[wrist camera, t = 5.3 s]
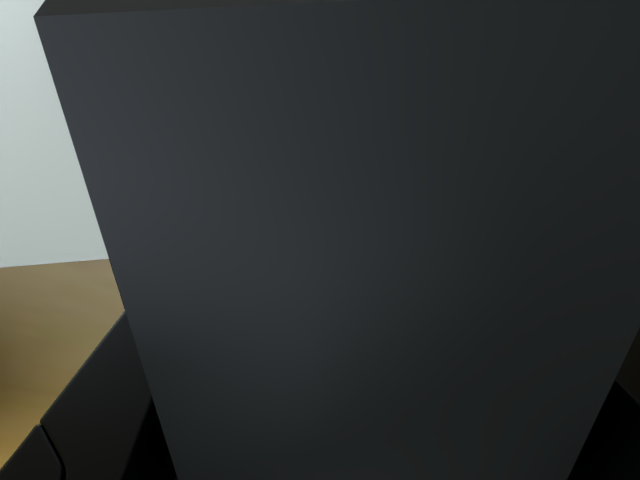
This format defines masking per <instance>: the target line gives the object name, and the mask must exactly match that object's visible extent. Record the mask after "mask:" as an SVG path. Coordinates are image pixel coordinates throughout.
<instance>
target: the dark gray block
mask: <svg viewBox="0 0 640 480" xmlns="http://www.w3.org/2000/svg"><path fill="white" fill-rule="evenodd" d="M33 18H34V21H35V24H36V27H37V31H38V34H39V37H40V40H41V43H42V46H43V50H44V53H45V56H46V59H47V62H48V66H49V69H50V72H51V75H52V78H53V82H54V85H55V88H56V91H57V94H58V98H59V101H60V104H61V107H62V110H63V114H64V117H65V120H66V123H67V126H68V130H69V133H70V136H71V139H72V142H73V146H74V149H75V152H76V155H77V158H78V161H79V165H80V168H81V171H82V174H83V177H84V181H85V184H86V187H87V190H88V193H89V197H90V200H91V203H92V206H93V209H94V213H95V216H96V219H97V222H98V225H99V229H100V232H101V235H102V238H103V241H104V245H105V248H106V251H107V254H108V257H109V261H110V264H111V267H112V270H113V273H114V276H115V280H116V283H117V286H118V289H119V292H120V296H121V299H122V302H123V305H124V308H125V312H126V315H127V318H128V321H129V324H130V328H131V331H132V334H133V337H134V340H135V344H136V347H137V350H138V353H139V356H140V360H141V363H142V366H143V369H144V372H145V375H146V379H147V382H148V385H149V388H150V391H151V395H152V398H153V401H154V404H155V407H156V411H157V414H158V417H159V420H160V423H161V427H162V430H163V433H164V436H165V439H166V443H167V446H168V449H169V452H170V455H171V459H172V462H173V465H174V468H175V471H176V475H177V478H178V480H567V479H568V476H569V474H570V472H571V470H572V468H573V466H574V464H575V462H576V460H577V458H578V456H579V453H580V451H581V449H582V447H583V445H584V443H585V441H586V439H587V437H588V435H589V432H590V430H591V428H592V426H593V424H594V422H595V420H596V418H597V416H598V414H599V412H600V409H601V407H602V405H603V403H604V401H605V399H606V397H607V395H608V393H609V391H610V389H611V386H612V384H613V382H614V380H615V378H616V376H617V374H618V372H619V370H620V368H621V365H622V363H623V361H624V359H625V357H626V355H627V353H628V351H629V349H630V347H631V345H632V342H633V340H634V338H635V336H636V334H637V332H638V330H639V328H640V0H45V1H44V2H43V4H42V5H41V7H40V8H39V9H38V11H37V12H36V13H35V15H34V16H33Z"/></svg>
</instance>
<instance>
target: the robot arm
mask: <svg viewBox="0 0 640 480" xmlns="http://www.w3.org/2000/svg"><path fill="white" fill-rule="evenodd" d="M40 423H41V425H42V426H41V425H40V424H37V425H36V426H35V427H34V428H33V429H32V431H31V432H30V433H29V434H28V436H27V437H26V438H25V440H24V441H23V442H22V443H21V445H20V446H19V447H18V449H17V450H16V451H15V452H14V453H13V455H12V456H11V457H10V458H9V460H8V461H7V462H6V463H5V464H4V466H3V467H2V468H1V469H0V480H178V478H177V475H176V471H175V468H174V465H173V462H172V459H171V455H170V452H169V449H168V446H167V443H166V439H165V436H164V433H163V430H162V427H161V423H160V420H159V417H158V414H157V411H156V407H155V404H154V401H153V398H152V395H151V391H150V388H149V385H148V382H147V379H146V375H145V372H144V369H143V366H142V363H141V360H140V356H139V353H138V350H137V347H136V344H135V340H134V337H133V334H132V331H131V328H130V324H129V321H128V318H127V315H126V312H125V311H124V312H123V314H122V315H121V316H120V318H119V319H118V320H117V321H116V323H115V324H114V325H113V327H112V328H111V329H110V330H109V332H108V333H107V334H106V336H105V337H104V338H103V339H102V341H101V342H100V343H99V345H98V346H97V347H96V348H95V350H94V351H93V352H92V354H91V355H90V356H89V358H88V359H87V360H86V361H85V363H84V364H83V365H82V367H81V368H80V369H79V370H78V372H77V373H76V374H75V376H74V377H73V378H72V379H71V381H70V382H69V383H68V385H67V386H66V387H65V388H64V390H63V391H62V392H61V394H60V395H59V396H58V397H57V399H56V400H55V401H54V403H53V404H52V405H51V406H50V408H49V409H48V410H47V412H46V413H45V414H44V416H43V417H42V418H41V420H40ZM567 480H640V328H639V330H638V332H637V334H636V336H635V338H634V340H633V342H632V345H631V347H630V349H629V351H628V353H627V355H626V357H625V359H624V361H623V363H622V365H621V368H620V370H619V372H618V374H617V376H616V378H615V380H614V382H613V384H612V386H611V389H610V391H609V393H608V395H607V397H606V399H605V401H604V403H603V405H602V407H601V409H600V412H599V414H598V416H597V418H596V420H595V422H594V424H593V426H592V428H591V430H590V432H589V435H588V437H587V439H586V441H585V443H584V445H583V447H582V449H581V451H580V453H579V456H578V458H577V460H576V462H575V464H574V466H573V468H572V470H571V472H570V474H569V476H568V479H567Z"/></svg>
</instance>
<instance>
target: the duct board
mask: <svg viewBox="0 0 640 480" xmlns="http://www.w3.org/2000/svg"><path fill="white" fill-rule="evenodd" d="M44 1H45V0H0V268H1V267H13V266H25V265H38V264H50V263H63V262H75V261H87V260H100V259H109V257H108V254H107V251H106V248H105V245H104V241H103V238H102V235H101V232H100V229H99V225H98V222H97V219H96V216H95V213H94V209H93V206H92V203H91V200H90V197H89V193H88V190H87V187H86V184H85V181H84V177H83V174H82V171H81V168H80V165H79V161H78V158H77V155H76V152H75V149H74V146H73V142H72V139H71V136H70V133H69V130H68V126H67V123H66V120H65V117H64V114H63V110H62V107H61V104H60V101H59V98H58V94H57V91H56V88H55V85H54V82H53V78H52V75H51V72H50V69H49V66H48V62H47V59H46V56H45V53H44V50H43V46H42V43H41V40H40V37H39V34H38V31H37V27H36V24H35V21H34V18H33V16H34V15H35V13H36V12H37V11H38V9H39V8H40V7H41V5H42V4H43V2H44Z"/></svg>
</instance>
